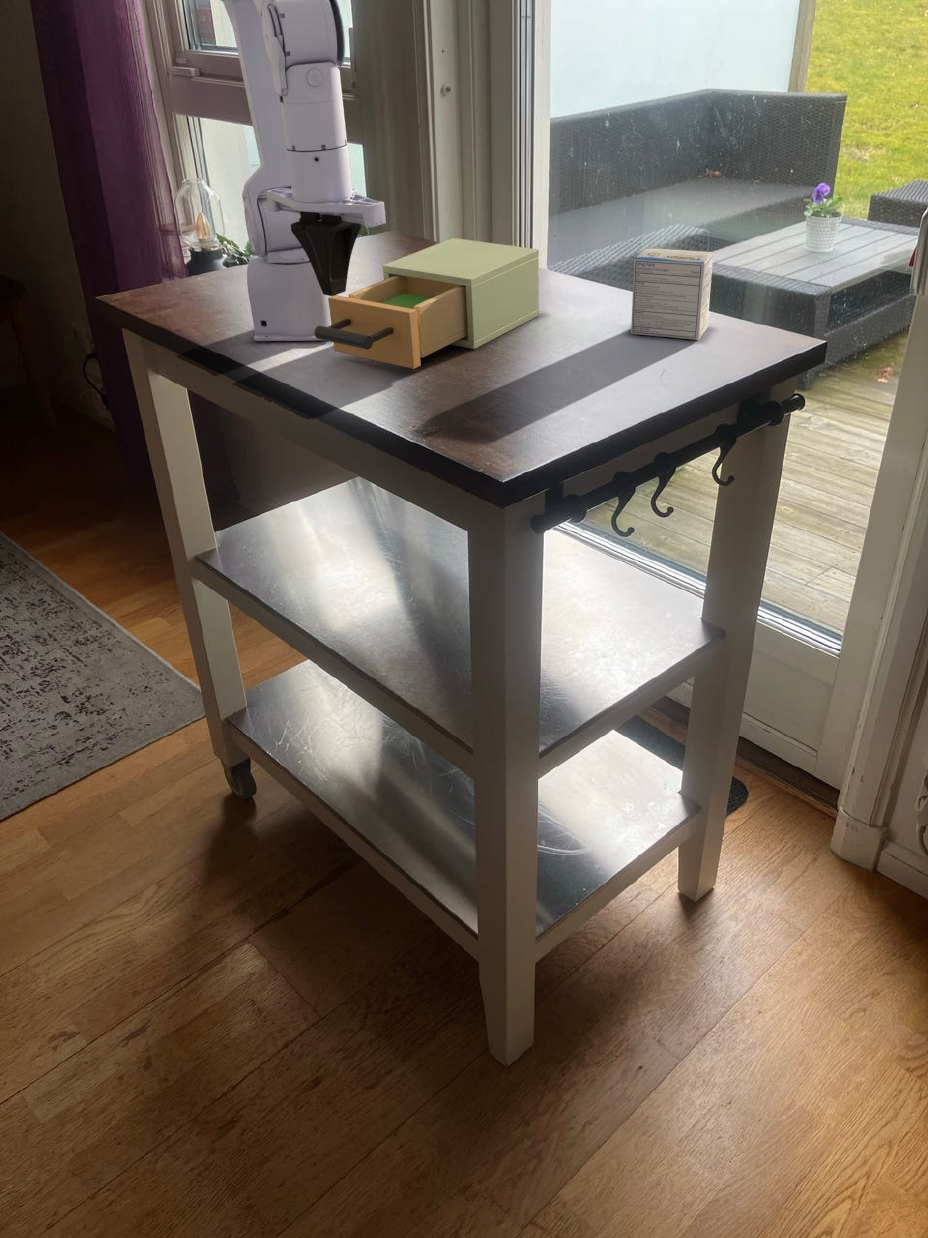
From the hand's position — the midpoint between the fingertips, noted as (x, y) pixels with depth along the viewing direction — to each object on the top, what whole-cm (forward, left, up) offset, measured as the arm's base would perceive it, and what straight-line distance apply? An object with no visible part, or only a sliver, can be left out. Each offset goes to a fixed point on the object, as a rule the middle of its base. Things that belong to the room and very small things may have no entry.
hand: (334, 292), depth 102 cm
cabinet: (+11, +19, -10) cm, 24 cm away
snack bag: (+5, +10, -8) cm, 13 cm away
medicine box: (+35, +15, -10) cm, 39 cm away
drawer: (+4, +7, -9) cm, 12 cm away
